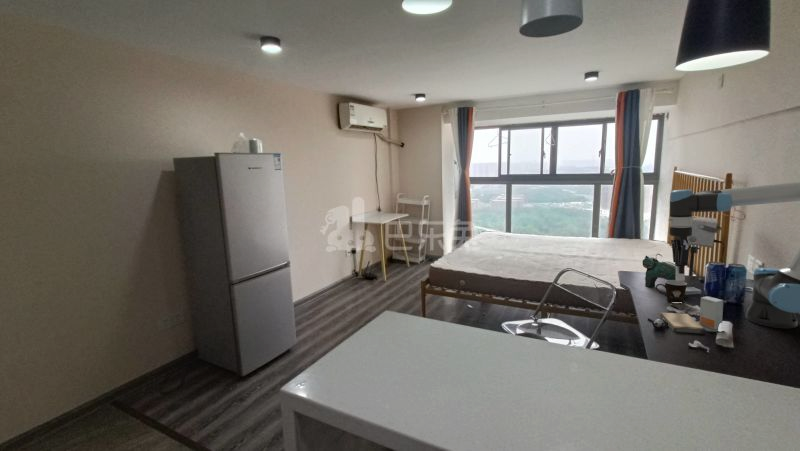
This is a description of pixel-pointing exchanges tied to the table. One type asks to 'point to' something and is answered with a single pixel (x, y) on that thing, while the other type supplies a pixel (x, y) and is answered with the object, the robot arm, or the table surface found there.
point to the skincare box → (711, 312)
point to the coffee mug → (674, 290)
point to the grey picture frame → (683, 329)
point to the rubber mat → (708, 328)
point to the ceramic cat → (658, 270)
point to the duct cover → (681, 321)
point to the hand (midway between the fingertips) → (680, 280)
